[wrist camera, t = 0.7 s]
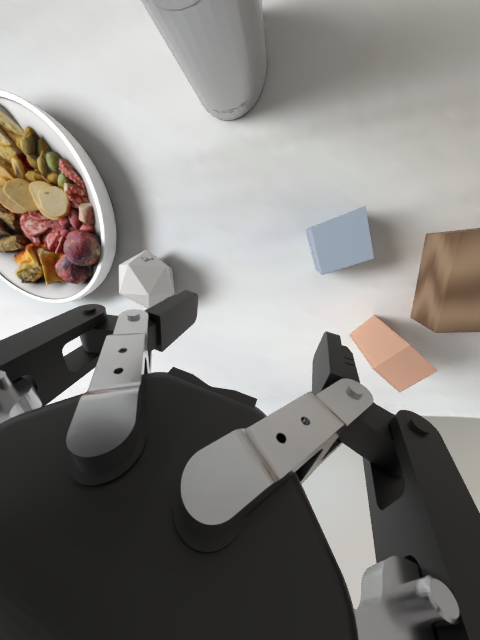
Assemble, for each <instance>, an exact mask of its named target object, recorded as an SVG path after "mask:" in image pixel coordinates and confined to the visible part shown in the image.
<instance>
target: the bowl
mask: <svg viewBox="0 0 480 640" xmlns="http://www.w3.org/2000/svg"><path fill="white" fill-rule="evenodd" d="M115 250H116V223H115V217H114V212H113V208H112V204H111V201H110V198H109V195H108V192H107V190H106V187H105V185H104V183H103V180H102V178H101V176H100V174H99V172H98V171H97V169H96V167H95V165H94V164H93V162H92V161H91V159H90V158H89V156H88V155H87V153H86V152H85V151H84V149H83V148H82V147H81V145H80V144H79V143H78V142H77V141H76V139H75V138H74V137H73V136H72V135H71V134H70V133H69V132H68V131H67V130H66V129H65V128H64V127H63V126H62V125H61V124H60V123H59V122H57V121H56V120H55V119H54V118H53V117H51V116H50V115H49V114H47V113H46V112H45V111H43V110H42V109H40V108H39V107H37V106H35V105H34V104H32V103H30V102H29V101H27V100H25V99H23V98H21V97H19V96H17V95H15V94H12V93H10V92H7V91H4V90H0V278H1V279H2V280H3V281H5V282H6V283H7V284H8V285H10V286H11V287H13V288H14V289H16V290H17V291H19V292H21V293H23V294H25V295H27V296H29V297H31V298H34V299H36V300H40V301H44V302H49V303H65V302H70V301H74V300H77V299H80V298H82V297H84V296H86V295H88V294H90V293H91V292H93V291H94V290H95V289H96V288H97V287H98V286H99V285H100V284H101V283H102V282H103V281H104V279H105V278H106V276H107V275H108V273H109V271H110V269H111V266H112V263H113V260H114V256H115Z"/></svg>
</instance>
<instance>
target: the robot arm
mask: <svg viewBox="0 0 480 640" xmlns="http://www.w3.org/2000/svg"><path fill="white" fill-rule="evenodd" d="M141 1H142V3H143V5H144V6H145V8H146V10H147V12H148V13H149V15H150V17H151V18H152V20H153V22H154V23H155V25H156V27H157V28H158V30H159V32H160V34H161V35H162V37H163V39H164V40H165V42H166V44H167V45H168V47H169V49H170V51H171V52H172V54H173V56H174V57H175V59H176V61H177V62H178V64H179V66H180V67H181V69H182V71H183V73H184V74H185V76H186V78H187V79H188V81H189V83H190V85H191V86H192V88H193V90H194V91H195V93H196V95H197V96H198V98H199V100H200V101H201V103H202V105H203V106H204V107H205V109H206V110H207V111H208V112H209V113H210V114H211V115H212V116H214V117H216V118H218V119H222V120H234V119H237V118H239V117H241V116H243V115H244V114H246V113H247V112H248V111H249V110H250V109H251V108H252V107H253V106H254V104H255V103H256V101H257V99H258V98H259V96H260V93H261V91H262V89H263V86H264V82H265V78H266V69H267V59H266V46H265V35H264V21H263V10H262V0H141ZM197 305H198V295H197V293H194V292H190V291H187V290H185V291H183V292H181V293H180V294H178V295H175V296H171V297H168V298H166V299H164V300H163V301H161V302H159V303H158V304H156V305H154V306H152V307H150V308H149V309H147V310H145V311H143V310H128V311H125V312H122V313H121V314H120V315H119V316H114V315H107V314H106V309H105V307H104V306H102V305H98V304H88V305H83V306H79V307H77V308H75V309H72V310H70V311H68V312H65V313H63V314H61V315H58V316H56V317H54V318H51V319H49V320H47V321H45V322H42V323H40V324H38V325H35V326H33V327H31V328H28V329H26V330H24V331H21V332H19V333H17V334H15V335H12V336H10V337H8V338H5V339H3V340H1V341H0V640H480V513H479V511H478V509H477V507H476V505H475V503H474V501H473V499H472V497H471V495H470V494H469V491H468V489H467V487H466V485H465V484H464V481H463V479H462V477H461V475H460V473H459V471H458V469H457V467H456V465H455V463H454V461H453V459H452V457H451V455H450V453H449V451H448V449H447V447H446V445H445V444H444V441H443V439H442V437H441V436H440V434H439V432H438V431H437V429H436V428H435V427H434V426H433V425H432V424H431V423H430V422H428V421H427V420H426V419H424V418H423V417H421V416H420V415H418V414H416V413H414V412H411V411H407V410H400V411H398V412H397V414H396V415H394V414H392V413H390V412H388V411H387V410H385V409H383V408H381V407H380V406H378V405H376V404H375V403H374V402H373V396H372V394H371V393H370V391H369V390H368V389H367V388H366V387H365V386H363V385H362V384H360V381H359V377H358V373H357V369H356V367H355V366H356V365H355V361H354V358H353V354H352V352H351V351H350V350H349V349H348V347H346V346H343V345H341V339H340V336H339V335H336V334H333V333H329V332H325V333H324V334H323V337H322V339H321V341H320V343H319V346H318V348H317V350H316V352H315V355H314V359H313V373H312V392H308V393H306V394H304V395H302V396H301V397H299V398H297V399H296V400H294V401H292V402H291V403H289V404H287V405H285V406H284V407H282V408H280V409H279V410H277V411H275V412H274V413H272V414H270V415H269V416H266V415H265V414H264V413H263V412H262V411H261V410H260V409H258V408H257V407H256V406H255V405H256V401H257V399H256V398H253V397H251V396H248V395H245V394H243V393H240V392H237V391H234V390H228V389H222V388H215V387H211V386H209V385H207V384H206V383H204V382H203V381H202V380H200V379H199V378H197V377H196V376H194V375H193V374H190V373H188V372H185V371H183V370H180V369H177V368H175V367H173V368H172V369H171V370H170V371H169V372H168V373H166V372H154V373H151V363H152V352H151V351H152V350H153V349H155V350H158V351H161V352H163V351H164V350H165V349H166V348H167V347H168V346H169V345H170V344H171V343H173V342H174V341H175V340H176V339H177V338H178V337H179V336H180V335H181V334H183V333H184V332H185V331H186V330H187V329H188V328H189V327H190V326H191V325H192V324H194V322H195V320H196V317H197ZM78 336H80V338H81V342H82V346H80V347H79V348H77V349H75V350H74V351H72V352H71V353H69V354H67V355H66V356H64V357H63V354H62V349H63V347H64V345H65V344H66V343H68V342H70V341H71V340H73V339H75V338H77V337H78ZM95 367H96V368H95ZM94 368H95V371H94V374H93V377H92V380H91V383H90V386H89V388H88V391H87V392H86V393H84V394H81V395H77V396H74V397H71V398H68V399H65V400H62V401H59V402H55V403H52V404H49V405H46V404H48V403H49V402H50V401H52V400H53V399H54V398H55V397H57V396H58V395H59V394H61V393H62V392H63V391H65V390H66V389H67V388H69V387H70V386H71V385H73V384H74V383H75V382H76V381H78V380H79V379H80V378H82V377H83V376H84V375H86V374H87V373H88V372H90V371H91V370H92V369H94ZM45 405H46V406H45ZM342 443H344V444H345V445H347V446H348V447H350V448H351V449H352V450H354V451H355V452H357V453H358V454H360V455H361V456H362V457H363V463H364V471H365V478H366V486H367V493H368V500H369V509H370V516H371V524H372V531H373V538H374V547H375V554H376V562H377V564H375V565H373V566H371V567H369V568H368V569H367V570H366V571H365V573H364V575H363V577H362V586H361V587H362V588H361V600H360V604H359V607H358V609H357V610H356V609H354V608H353V605H352V601H351V598H350V595H349V591H348V588H347V585H346V583H345V580H344V577H343V575H342V573H341V570H340V568H339V566H338V564H337V562H336V559H335V557H334V555H333V553H332V551H331V549H330V546H329V544H328V542H327V540H326V538H325V535H324V533H323V531H322V529H321V527H320V525H319V522H318V520H317V518H316V516H315V513H314V511H313V509H312V507H311V505H310V503H309V500H308V498H307V496H306V494H305V492H304V489H303V487H302V485H301V484H302V483H303V482H304V481H305V480H306V479H307V478H308V477H309V476H310V475H311V474H312V472H313V471H314V470H315V469H316V468H317V467H318V466H319V465H320V464H321V463H322V462H323V461H324V460H325V459H326V458H327V457H328V456H329V455H330V454H331V453H332V452H334V451H335V450H336V449H337V448H338V447H339V446H340V445H341V444H342Z"/></svg>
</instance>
